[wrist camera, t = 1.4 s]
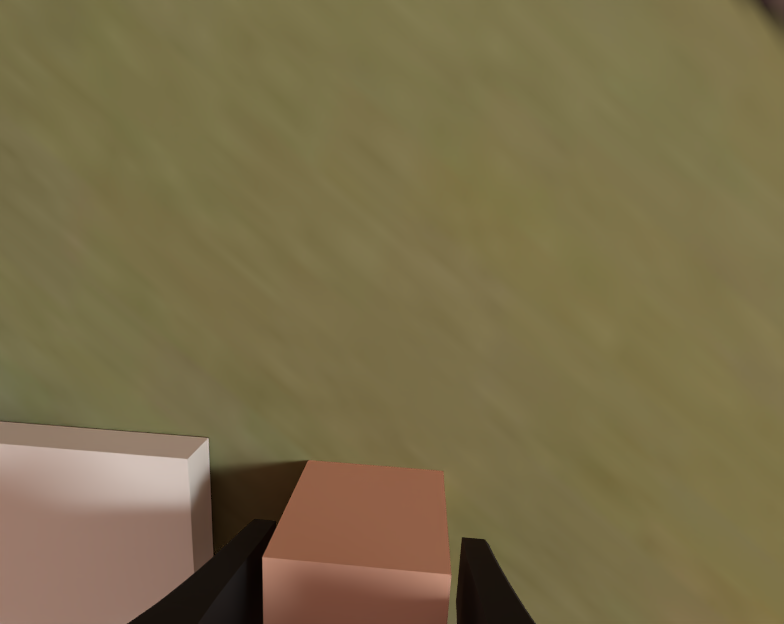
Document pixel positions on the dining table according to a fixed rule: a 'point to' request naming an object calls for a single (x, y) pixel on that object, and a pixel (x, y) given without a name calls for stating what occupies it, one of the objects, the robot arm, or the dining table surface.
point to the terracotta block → (360, 548)
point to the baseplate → (98, 521)
